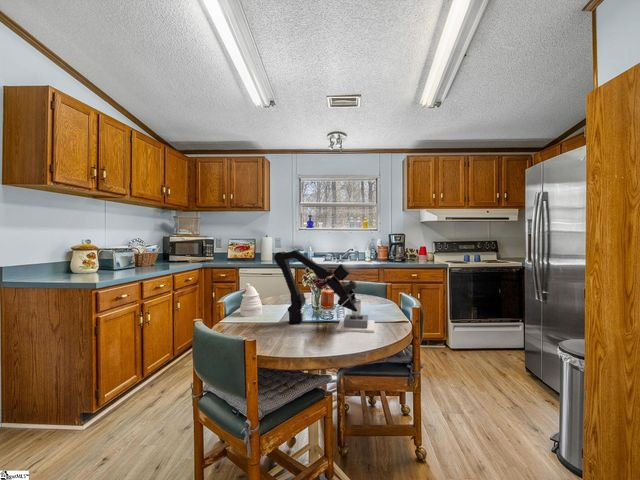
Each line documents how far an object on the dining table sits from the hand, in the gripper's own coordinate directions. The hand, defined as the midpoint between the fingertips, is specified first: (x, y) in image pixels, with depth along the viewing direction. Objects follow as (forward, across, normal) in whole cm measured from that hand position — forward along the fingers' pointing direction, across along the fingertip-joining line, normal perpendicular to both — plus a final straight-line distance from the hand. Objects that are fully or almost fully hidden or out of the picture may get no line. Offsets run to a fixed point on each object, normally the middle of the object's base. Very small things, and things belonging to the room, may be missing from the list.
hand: (358, 308), depth 166 cm
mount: (+6, 0, +7) cm, 9 cm away
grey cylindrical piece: (+5, 0, +6) cm, 8 cm away
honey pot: (-40, +11, +54) cm, 68 cm away
